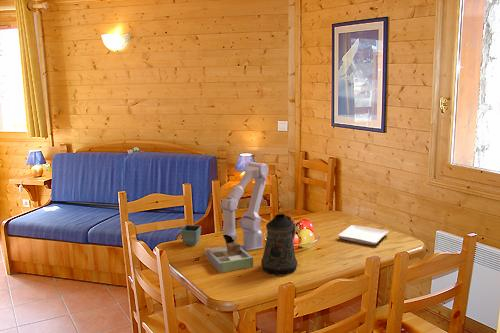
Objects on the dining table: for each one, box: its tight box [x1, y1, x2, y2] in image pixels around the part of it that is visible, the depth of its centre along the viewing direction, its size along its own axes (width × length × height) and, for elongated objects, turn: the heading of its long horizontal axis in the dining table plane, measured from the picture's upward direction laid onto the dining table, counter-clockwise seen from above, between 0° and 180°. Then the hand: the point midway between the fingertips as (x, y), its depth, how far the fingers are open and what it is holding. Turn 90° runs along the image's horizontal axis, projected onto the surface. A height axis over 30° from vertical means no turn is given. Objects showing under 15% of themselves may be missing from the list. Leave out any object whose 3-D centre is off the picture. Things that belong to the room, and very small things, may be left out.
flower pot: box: [179, 224, 202, 247], centre depth 255 cm, size 9×9×9 cm
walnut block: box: [227, 240, 241, 256], centre depth 235 cm, size 5×5×5 cm
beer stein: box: [260, 213, 298, 277], centre depth 222 cm, size 16×19×25 cm
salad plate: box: [337, 224, 389, 246], centre depth 261 cm, size 21×21×3 cm
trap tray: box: [204, 245, 254, 274], centre depth 234 cm, size 16×25×4 cm, turn 23°
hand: (229, 249), depth 239 cm, fingers closed
